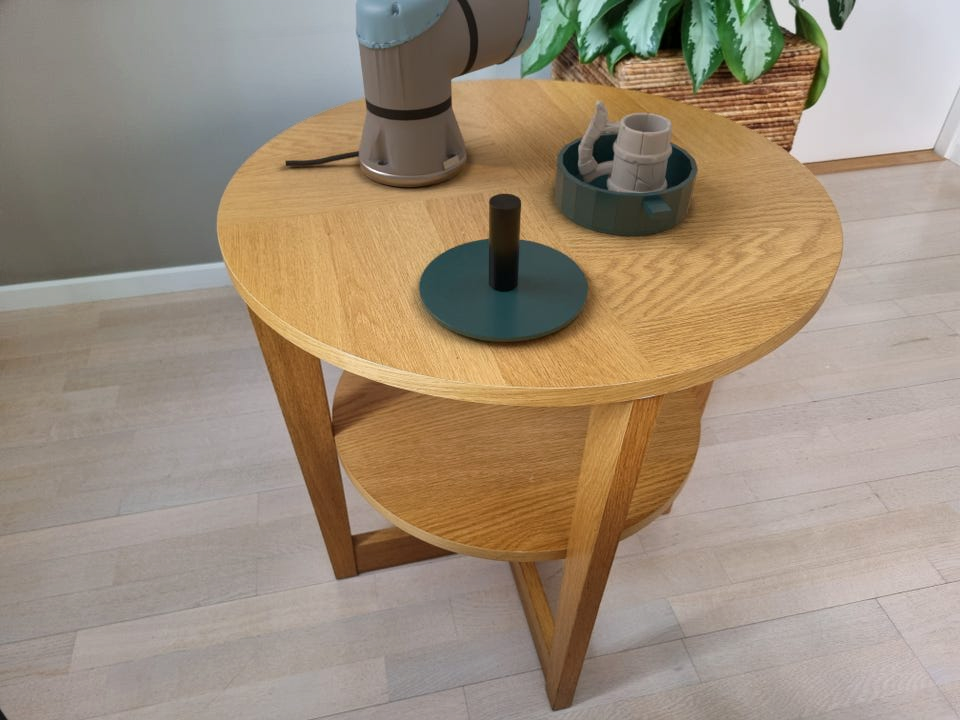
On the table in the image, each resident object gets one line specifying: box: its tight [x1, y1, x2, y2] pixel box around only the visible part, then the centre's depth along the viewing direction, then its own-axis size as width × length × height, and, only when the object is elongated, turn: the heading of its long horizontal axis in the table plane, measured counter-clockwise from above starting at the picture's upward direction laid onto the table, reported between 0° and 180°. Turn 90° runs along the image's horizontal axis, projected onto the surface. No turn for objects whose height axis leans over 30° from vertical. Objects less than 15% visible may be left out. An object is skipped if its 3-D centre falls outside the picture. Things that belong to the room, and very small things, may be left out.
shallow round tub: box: [554, 132, 699, 237], centre depth 90 cm, size 17×23×6 cm
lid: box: [418, 193, 589, 343], centre depth 73 cm, size 18×18×11 cm
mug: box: [578, 99, 673, 193], centre depth 88 cm, size 8×12×12 cm, turn 78°
